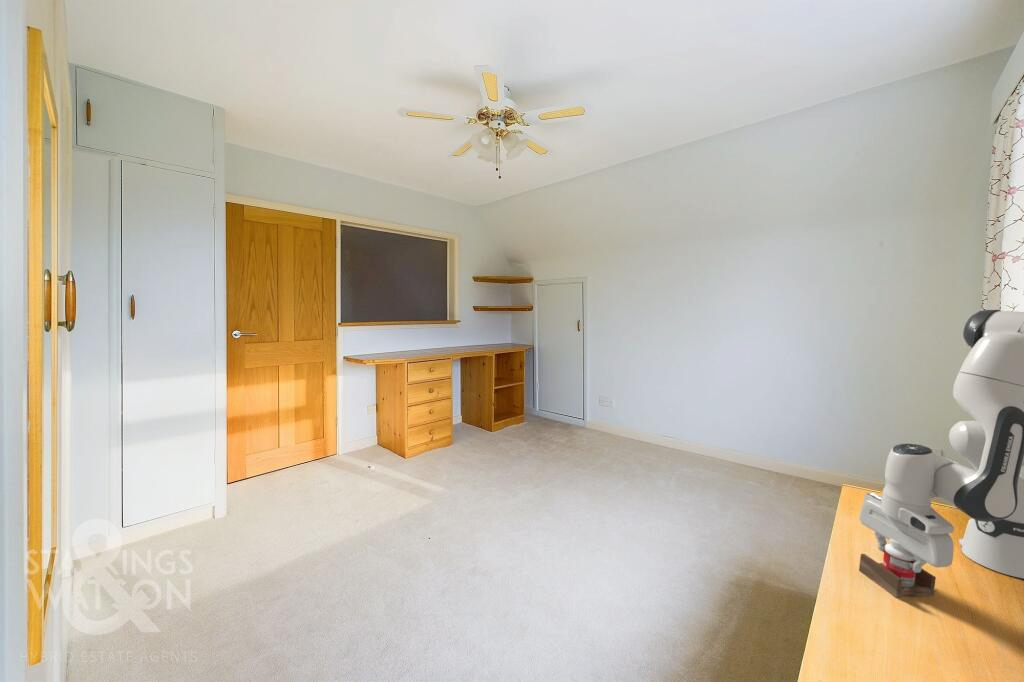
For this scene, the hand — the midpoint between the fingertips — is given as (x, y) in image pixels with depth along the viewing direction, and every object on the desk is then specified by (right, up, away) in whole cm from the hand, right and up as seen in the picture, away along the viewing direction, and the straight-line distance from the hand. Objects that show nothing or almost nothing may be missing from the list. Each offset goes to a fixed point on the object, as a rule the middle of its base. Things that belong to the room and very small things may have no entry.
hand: (898, 560), depth 107 cm
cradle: (0, -6, +1) cm, 6 cm away
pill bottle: (0, -6, +1) cm, 6 cm away
